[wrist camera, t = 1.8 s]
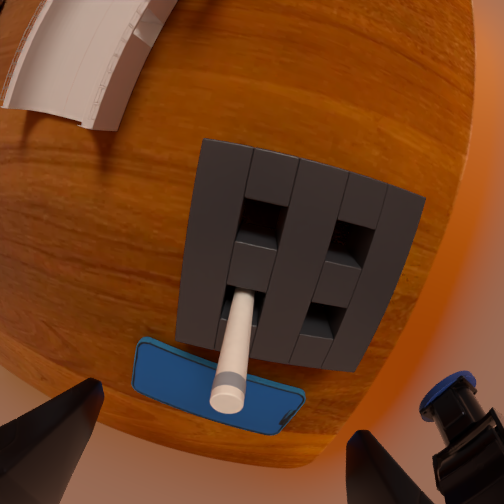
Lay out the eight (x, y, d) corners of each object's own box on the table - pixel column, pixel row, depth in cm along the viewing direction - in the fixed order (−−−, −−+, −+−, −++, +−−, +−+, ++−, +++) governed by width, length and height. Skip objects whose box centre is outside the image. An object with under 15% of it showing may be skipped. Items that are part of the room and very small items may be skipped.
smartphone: (137, 336, 21) (310, 395, 21) (142, 330, 21) (309, 387, 22) (130, 389, 23) (275, 437, 24) (134, 383, 24) (275, 430, 25)
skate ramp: (99, -38, 10) (72, -61, 6) (238, -35, 11) (230, -76, 7) (27, 108, 15) (-15, 107, 10) (149, 141, 16) (109, 139, 12)
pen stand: (396, 187, 17) (426, 197, 13) (342, 338, 21) (354, 372, 17) (217, 141, 16) (202, 137, 13) (189, 308, 20) (174, 341, 17)
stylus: (260, 274, 19) (251, 403, 9) (249, 287, 19) (231, 418, 9) (245, 264, 19) (221, 388, 9) (234, 277, 19) (202, 404, 9)
